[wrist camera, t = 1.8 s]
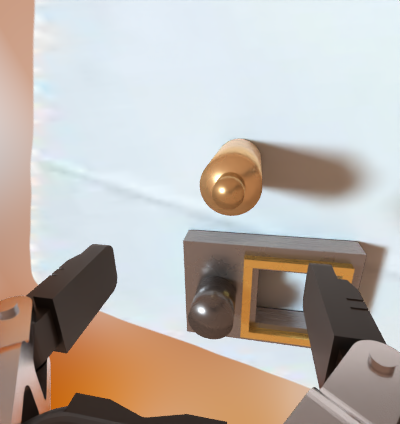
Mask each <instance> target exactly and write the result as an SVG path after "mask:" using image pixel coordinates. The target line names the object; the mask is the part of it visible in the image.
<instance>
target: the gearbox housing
mask: <svg viewBox="0 0 400 424" xmlns="http://www.w3.org/2000/svg"><path fill="white" fill-rule="evenodd" d="M183 244H184V267H185V290H186V314H187V331H190V332H196V333H197V334H198V335H200V336H202V337H205V338H208V339H220V338H223V337H225V336H226V337H233V338H241V339H248V340H255V341H262V342H270V343H277V344H284V345H292V346H299V347H306V348H311V346H310V341H309V336H308V331H307V327H306V322H305V317H304V312H297V311H289V310H280V309H271V308H263V307H256V303H257V289H258V276H259V269H261V270H272V271H283V272H294V273H305V274H307V270H308V265H309V263H317V264H329V265H332V267H333V269H334V272H335V274H336V276H337V278H338V279H344V280H348V281H349V282H350V283H351V284H352V285H353V286H354V287H356V288H357V289H359V285H360V281H361V277H362V273H363V268H364V264H365V260H366V256H367V255H366V253H365V252H364V250H363V249H362V247H361V246H360V244H359V243H358V242H355V241H341V240H326V239H312V238H298V237H283V236H269V235H255V234H240V233H226V232H211V231H197V230H189V231H188V233H187V235H186V237H185V239H184V240H183Z"/></svg>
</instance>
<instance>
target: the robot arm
mask: <svg viewBox="0 0 400 424" xmlns="http://www.w3.org/2000/svg"><path fill="white" fill-rule="evenodd" d="M116 284H117V272H116V266H115V259H114V252H113V248H112V247H111V246H109V245H98V244H92V245H91V246H89V247H88V248H87V249H86V250H85V251H84V252H83V253H81V254H79V255H77V256H76V257H74V258H72V259H70V260H68V261H66V262H65V263H64V264H63V265H62V266H61V267H59V269H57V270H56V271H55V272H54V273H52V276H51V275H50V276H49V277H48V278H46V279H45V280H44V281H43V282H42V283H41V284H39V285H38V286H37V287H36V288H35V289H34V290H32V291H31V292H30V293H29V294H28V295H26V296H14V297H10V298H6V299H4V300H1V301H0V424H227V422H225V421H219V420H214V419H209V418H204V417H198V416H194V415H188V414H184V415H172V416H161V417H150V418H144V417H141V416H139V415H137V414H136V413H134V412H132V411H130V410H128V409H126V408H125V407H123V406H121V405H119V404H118V403H116V402H114V401H112V400H110V399H105V398H100V397H95V396H90V395H85V394H79V393H76V394H75V395H74V397H73V398H72V400H71V402H70V403H69V405H68V406H66V407H61V408H56V409H53V410H50V359H49V356H50V355H51V353H52V352H53V351H56V352H62V353H68V351H69V350H70V349H71V347H72V346H73V345H74V343H75V342H76V341H77V339H78V338H79V336H80V335H81V334H82V333H83V331H84V330H85V329H86V327H87V326H88V324H89V323H90V322H91V321H92V319H93V318H94V316H95V315H96V314H97V313H98V311H99V310H100V309H101V307H102V306H103V305H104V303H105V302H106V301H107V299H108V298H109V297H110V295H111V294H112V293H113V291H114V289H115V287H116ZM303 312H304V317H305V322H306V327H307V331H308V336H309V341H310V346H311V350H312V355H313V360H314V364H315V369H316V374H317V379H318V383H319V388H320V390H318V389H317V388H315V387H314V388H312V389H310V391H308V393H307V394H306V395H305V396H304V398H303V399H302V400H301V402H300V403H299V404H298V406H297V407H296V408H295V409H294V411H293V412H292V413H291V415H290V416H289V417H288V418H287V420H286V421H285V422H284V424H400V352H398V351H397V350H396V349H394V348H392V347H390V346H388V345H387V344H386V343H385V341H384V339H383V337H382V335H381V333H380V331H379V329H378V327H377V325H376V323H375V321H374V320H373V318H372V316H371V314H370V312H369V311H368V308H367V306H366V304H365V302H363V298H362V297H361V295H360V293H359V291H358V289H357V288H356V287H354V286H353V285H352V284H351V283H350V282H349V281H348V280H344V279H338V278H337V276H336V274H335V272H334V269H333V267H332V265H329V264H317V263H309V265H308V270H307V276H306V283H305V290H304V296H303Z"/></svg>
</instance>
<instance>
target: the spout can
mask: <svg viewBox="0 0 400 424" xmlns="http://www.w3.org/2000/svg"><path fill="white" fill-rule="evenodd" d="M200 191H201V195H202V197H203V199H204V201H205V202H206V204H207V205H208V206H209V207H210V208H211V209H213V210H214V211H216V212H218V213H220V214H223V215H229V216H234V215H240V214H243V213H245V212H247V211H249V210H250V209H252V208H253V207H254V206H255V205H256V203H257V202H258V200H259V198H260V196H261V193H262V168H261V155H260V152H259V150H258V148H257V147H256V146H255V145H254V144H253V143H252V142H250V141H248V140H245V139H233V140H230V141H228V142H227V143H225V144H224V145H223V146H222V147H221V148H220V150H219V151H218V152H217V154H216V155H215V156H214V157H213V159H212V160H211V161H210V163H209V164H208V165H207V167H206V168H205V170H204V171H203V173H202V176H201V179H200Z"/></svg>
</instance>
